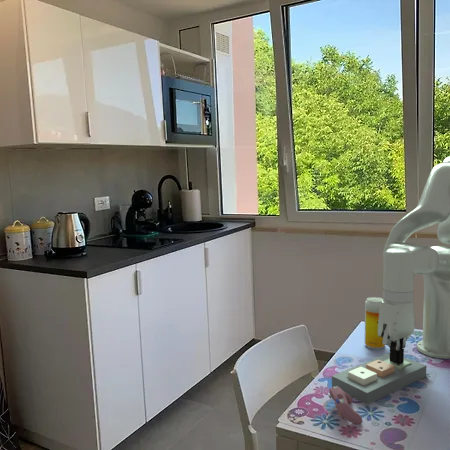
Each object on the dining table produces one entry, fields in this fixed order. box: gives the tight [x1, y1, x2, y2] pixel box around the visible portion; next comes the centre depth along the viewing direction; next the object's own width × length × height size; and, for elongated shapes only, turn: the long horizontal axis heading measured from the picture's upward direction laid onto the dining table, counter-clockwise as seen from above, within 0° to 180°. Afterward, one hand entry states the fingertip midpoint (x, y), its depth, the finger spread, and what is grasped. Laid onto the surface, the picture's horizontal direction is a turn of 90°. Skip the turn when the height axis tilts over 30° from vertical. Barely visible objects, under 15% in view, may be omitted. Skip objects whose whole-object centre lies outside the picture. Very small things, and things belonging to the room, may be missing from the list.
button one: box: [348, 367, 377, 386], centre depth 116 cm, size 5×5×3 cm
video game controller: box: [328, 386, 363, 425], centre depth 105 cm, size 10×5×7 cm, turn 179°
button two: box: [366, 360, 394, 378], centre depth 120 cm, size 5×5×3 cm
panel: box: [331, 352, 427, 406], centre depth 120 cm, size 24×11×3 cm, turn 124°
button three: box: [383, 359, 411, 370], centre depth 124 cm, size 5×5×3 cm
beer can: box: [364, 296, 386, 350], centre depth 142 cm, size 6×6×15 cm
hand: (396, 361), depth 124 cm, fingers closed
